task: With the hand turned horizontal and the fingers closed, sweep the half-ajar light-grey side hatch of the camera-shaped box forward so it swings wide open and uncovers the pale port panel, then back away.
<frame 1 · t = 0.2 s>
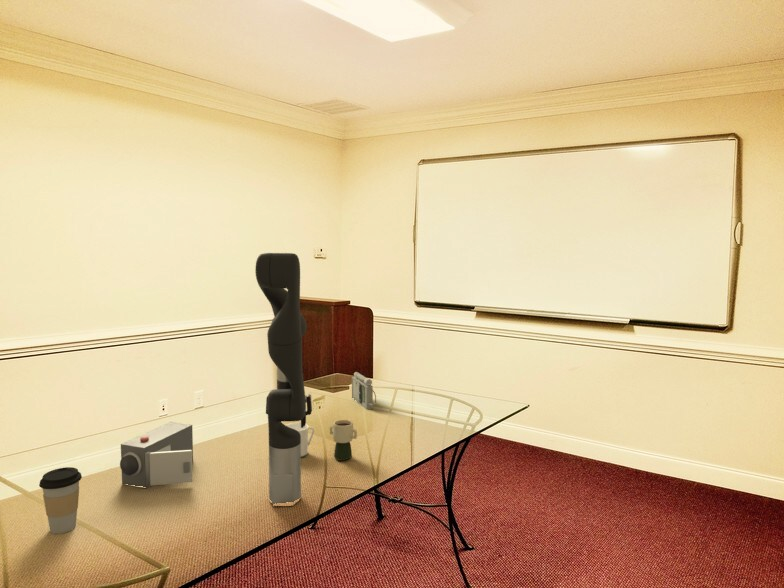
hand: (289, 426, 167), 17 cm above the table, tool pointing down, fingers open, 8 cm apart
geiger counter: (364, 405, 249), on the table
side door: (168, 468, 160), point 6 cm above the table, hinge at 60.0°
coffee cup: (63, 529, 138), on the table
camera body: (159, 472, 172), on the table
character mug: (343, 458, 186), on the table
mug: (299, 454, 189), on the table
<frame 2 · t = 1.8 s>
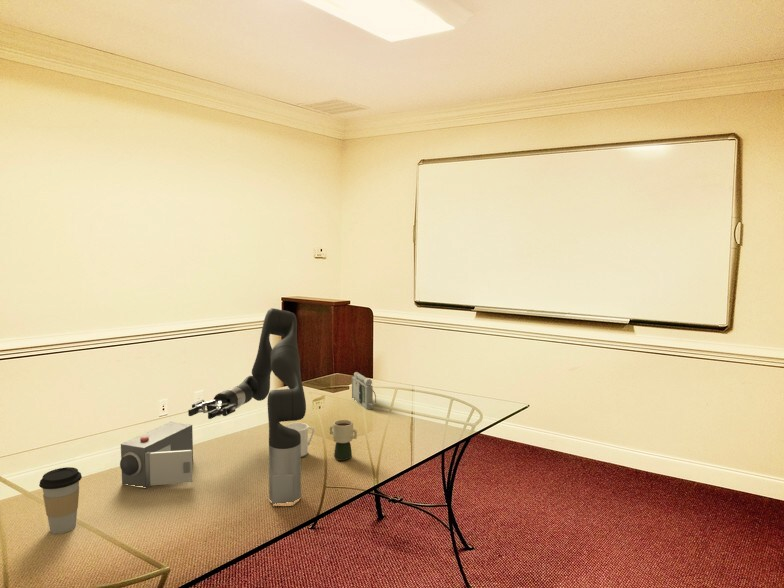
hand: (199, 414, 169), 20 cm above the table, tool horizontal, fingers open, 7 cm apart
nothing on the table moved.
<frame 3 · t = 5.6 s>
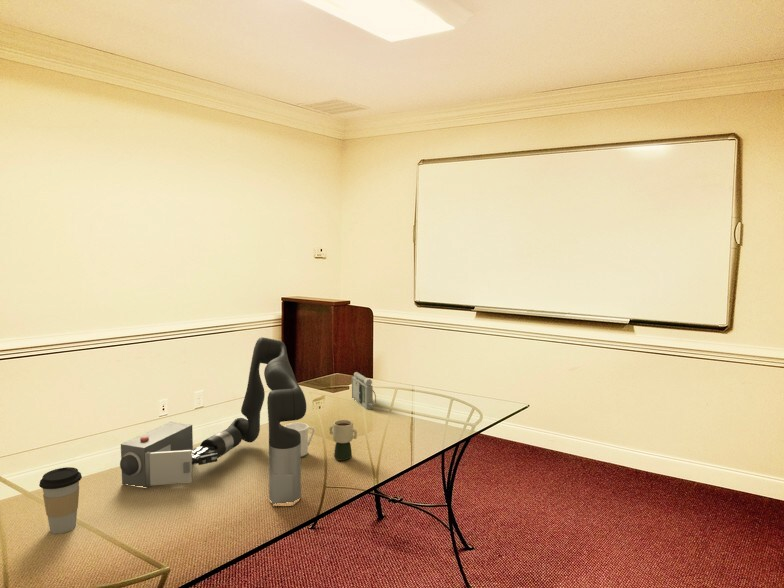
hand: (182, 465, 162), 7 cm above the table, tool horizontal, fingers closed
side door: (168, 468, 160), point 7 cm above the table, hinge at 60.3°, touching gripper
everything else where it was.
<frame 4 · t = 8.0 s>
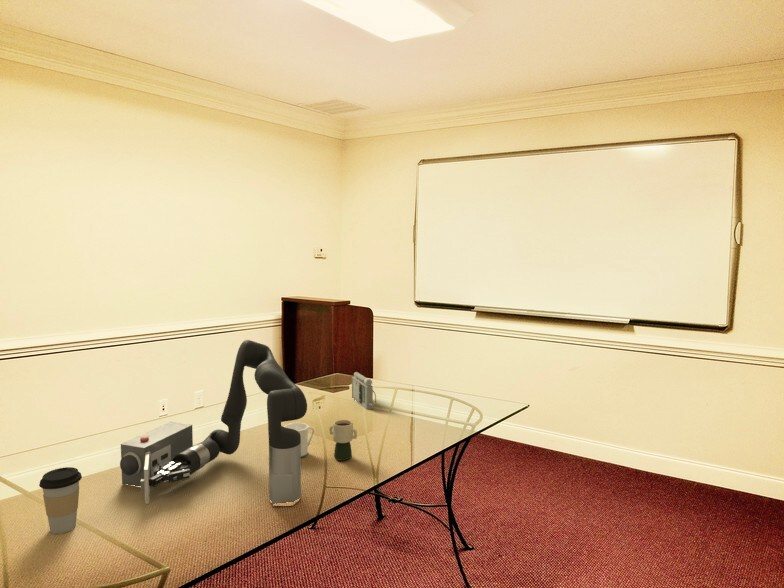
hand: (150, 483, 150), 6 cm above the table, tool horizontal, fingers closed
side door: (146, 477, 154), point 7 cm above the table, hinge at 139.3°, touching gripper
everything else where it was.
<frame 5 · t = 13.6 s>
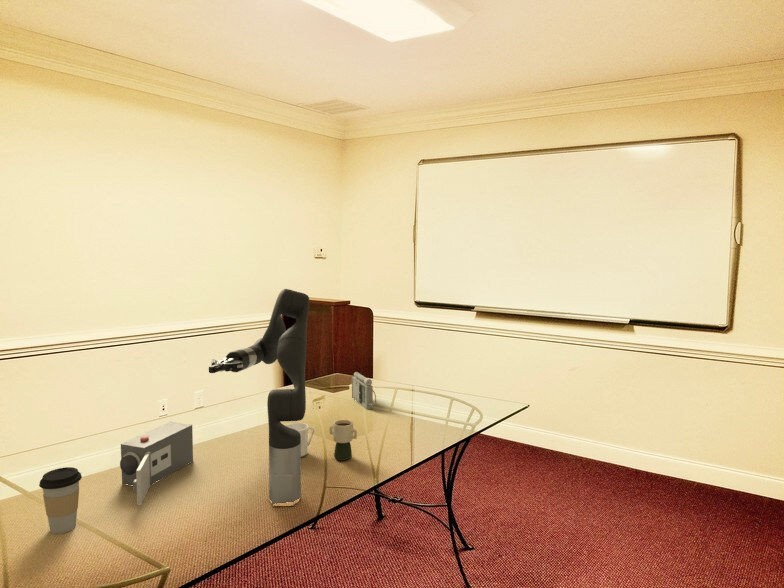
hand: (210, 370, 171), 34 cm above the table, tool horizontal, fingers closed
side door: (142, 477, 154), point 7 cm above the table, hinge at 148.4°
everything else where it was.
at the end: side door at +148° (first picture: +60°) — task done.
